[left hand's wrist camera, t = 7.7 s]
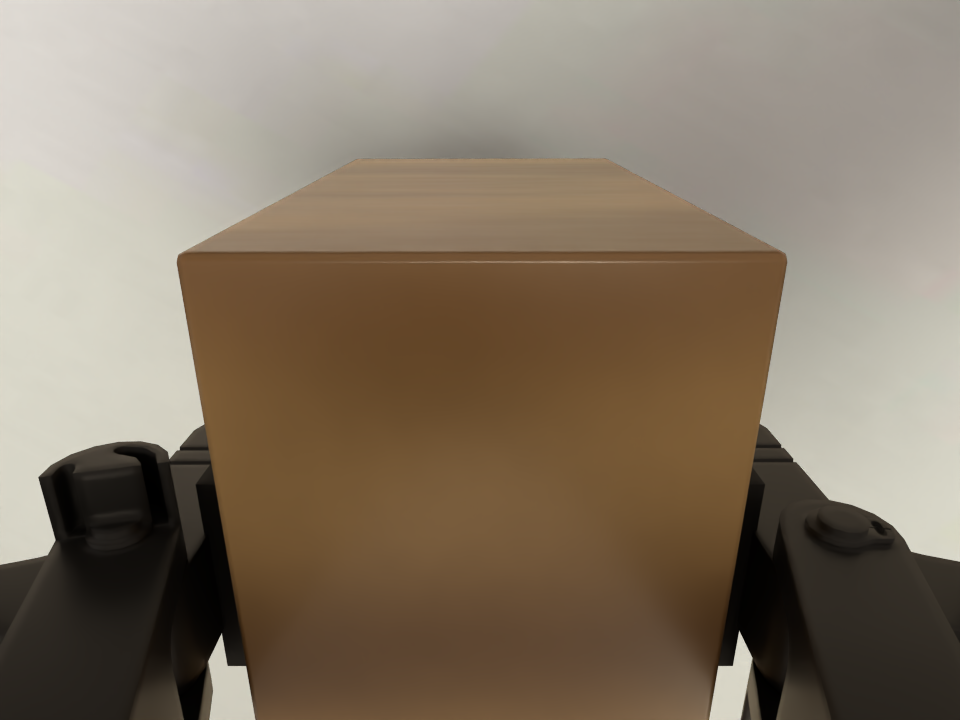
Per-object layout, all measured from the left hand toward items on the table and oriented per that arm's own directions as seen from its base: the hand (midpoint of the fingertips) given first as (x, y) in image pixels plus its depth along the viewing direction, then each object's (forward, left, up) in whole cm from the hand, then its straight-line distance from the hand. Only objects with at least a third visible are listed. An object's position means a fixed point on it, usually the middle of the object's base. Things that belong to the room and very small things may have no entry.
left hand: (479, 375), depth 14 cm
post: (+3, +31, -1) cm, 32 cm away
